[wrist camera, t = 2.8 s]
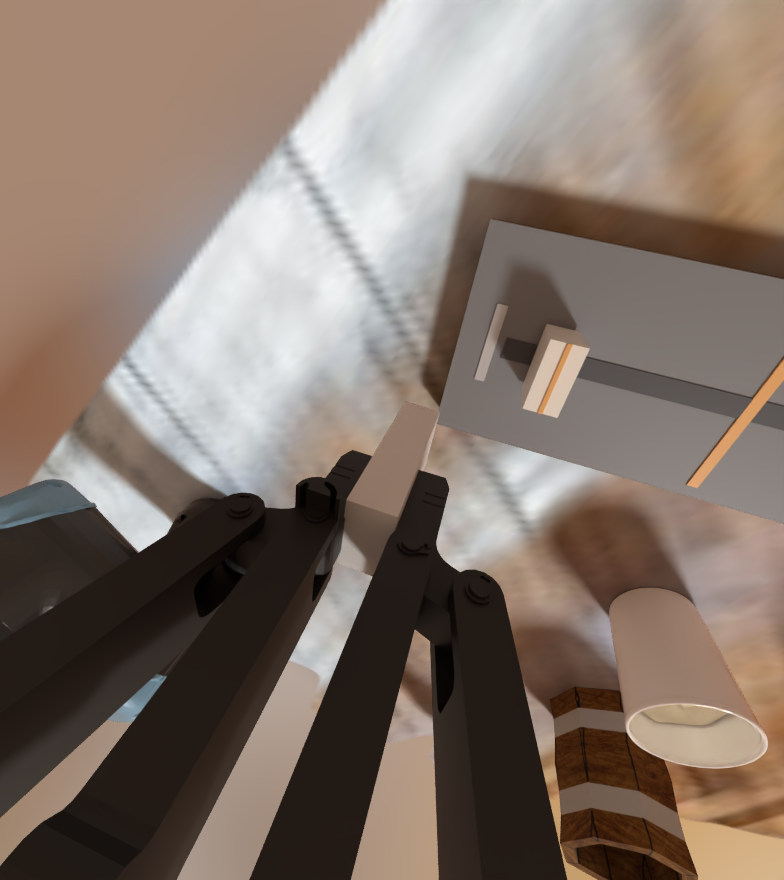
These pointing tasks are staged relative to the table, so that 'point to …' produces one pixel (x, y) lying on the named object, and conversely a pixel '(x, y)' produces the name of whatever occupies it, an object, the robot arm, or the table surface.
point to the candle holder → (679, 684)
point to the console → (630, 364)
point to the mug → (614, 794)
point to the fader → (553, 370)
